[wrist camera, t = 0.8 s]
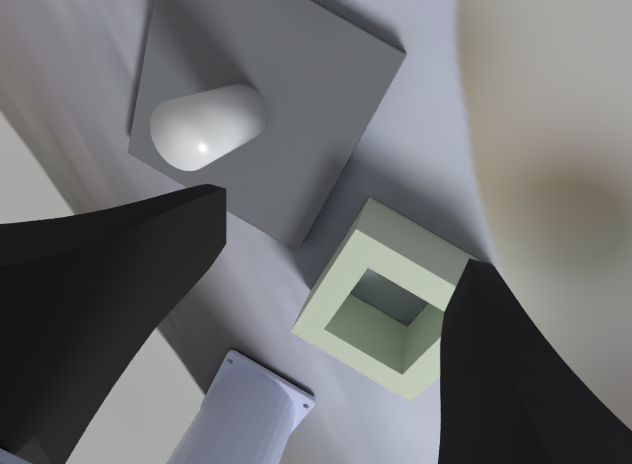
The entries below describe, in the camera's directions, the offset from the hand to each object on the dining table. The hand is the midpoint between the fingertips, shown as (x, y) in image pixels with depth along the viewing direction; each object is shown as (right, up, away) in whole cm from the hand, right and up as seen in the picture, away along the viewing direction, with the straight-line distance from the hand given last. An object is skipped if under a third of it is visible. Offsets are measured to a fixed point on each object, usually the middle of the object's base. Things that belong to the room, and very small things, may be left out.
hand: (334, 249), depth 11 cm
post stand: (-4, +7, +9) cm, 13 cm away
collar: (+4, -2, +12) cm, 13 cm away
